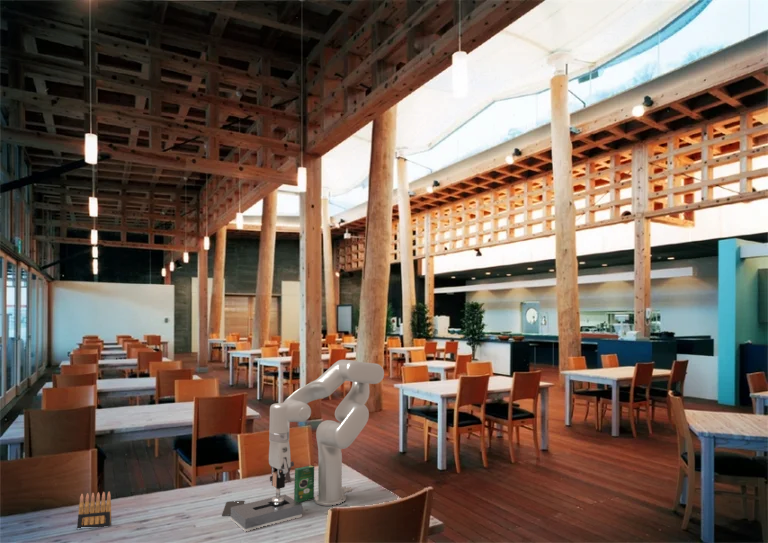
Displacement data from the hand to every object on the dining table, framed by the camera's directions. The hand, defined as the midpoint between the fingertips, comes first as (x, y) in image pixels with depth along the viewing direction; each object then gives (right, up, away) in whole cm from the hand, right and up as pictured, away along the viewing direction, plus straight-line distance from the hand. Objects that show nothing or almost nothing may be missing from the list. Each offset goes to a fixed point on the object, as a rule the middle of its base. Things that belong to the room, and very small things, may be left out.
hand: (278, 486), depth 195 cm
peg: (0, -6, -1) cm, 6 cm away
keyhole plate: (-4, -10, -4) cm, 12 cm away
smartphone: (-19, -12, +6) cm, 23 cm away
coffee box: (+8, -12, +15) cm, 20 cm away
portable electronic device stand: (-6, -14, +39) cm, 42 cm away
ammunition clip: (-64, -11, -10) cm, 65 cm away
